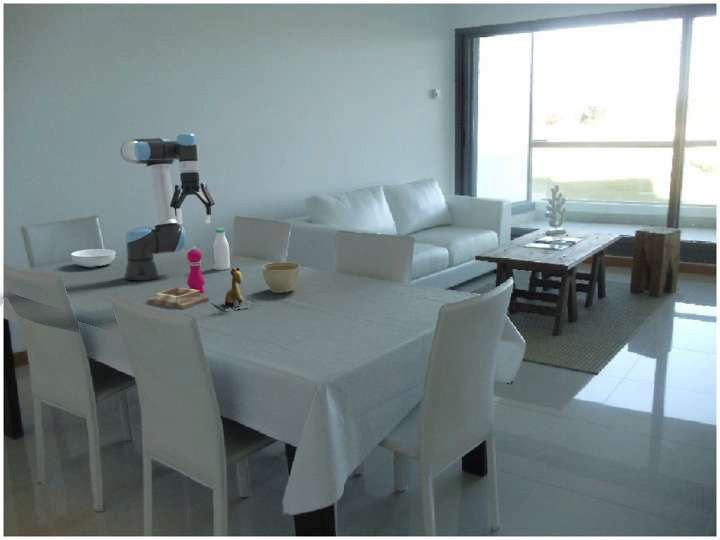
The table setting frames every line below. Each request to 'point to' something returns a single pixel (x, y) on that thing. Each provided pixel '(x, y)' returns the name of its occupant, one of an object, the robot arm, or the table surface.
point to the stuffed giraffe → (233, 292)
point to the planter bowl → (281, 276)
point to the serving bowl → (93, 257)
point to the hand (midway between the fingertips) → (193, 223)
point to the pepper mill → (195, 270)
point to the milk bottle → (221, 251)
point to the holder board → (178, 298)
